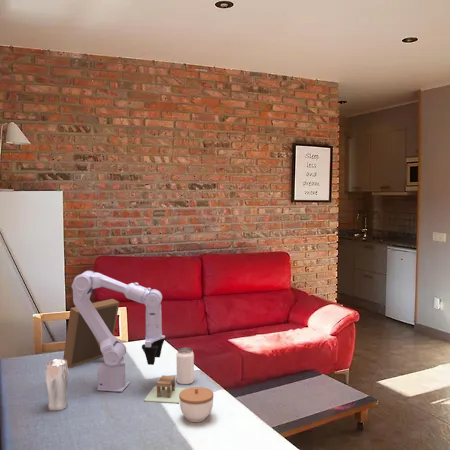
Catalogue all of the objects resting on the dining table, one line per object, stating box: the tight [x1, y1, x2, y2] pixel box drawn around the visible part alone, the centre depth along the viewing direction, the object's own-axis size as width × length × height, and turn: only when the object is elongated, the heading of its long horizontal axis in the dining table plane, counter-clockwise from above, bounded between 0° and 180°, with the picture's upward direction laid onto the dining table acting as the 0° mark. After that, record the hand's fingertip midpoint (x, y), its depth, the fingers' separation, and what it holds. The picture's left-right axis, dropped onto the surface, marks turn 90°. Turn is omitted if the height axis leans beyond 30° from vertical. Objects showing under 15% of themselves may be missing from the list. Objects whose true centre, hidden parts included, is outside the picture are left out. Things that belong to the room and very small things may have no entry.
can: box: [176, 347, 195, 385], centre depth 177 cm, size 6×6×12 cm
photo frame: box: [62, 298, 120, 369], centre depth 197 cm, size 15×22×25 cm
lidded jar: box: [179, 386, 214, 423], centre depth 148 cm, size 11×11×9 cm
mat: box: [143, 385, 187, 405], centre depth 165 cm, size 12×12×1 cm
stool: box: [156, 375, 176, 398], centre depth 165 cm, size 7×5×5 cm, turn 172°
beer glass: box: [45, 358, 69, 412], centre depth 155 cm, size 7×7×15 cm
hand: (154, 360), depth 171 cm, fingers open, 7 cm apart
